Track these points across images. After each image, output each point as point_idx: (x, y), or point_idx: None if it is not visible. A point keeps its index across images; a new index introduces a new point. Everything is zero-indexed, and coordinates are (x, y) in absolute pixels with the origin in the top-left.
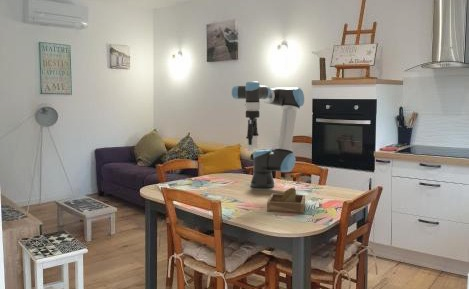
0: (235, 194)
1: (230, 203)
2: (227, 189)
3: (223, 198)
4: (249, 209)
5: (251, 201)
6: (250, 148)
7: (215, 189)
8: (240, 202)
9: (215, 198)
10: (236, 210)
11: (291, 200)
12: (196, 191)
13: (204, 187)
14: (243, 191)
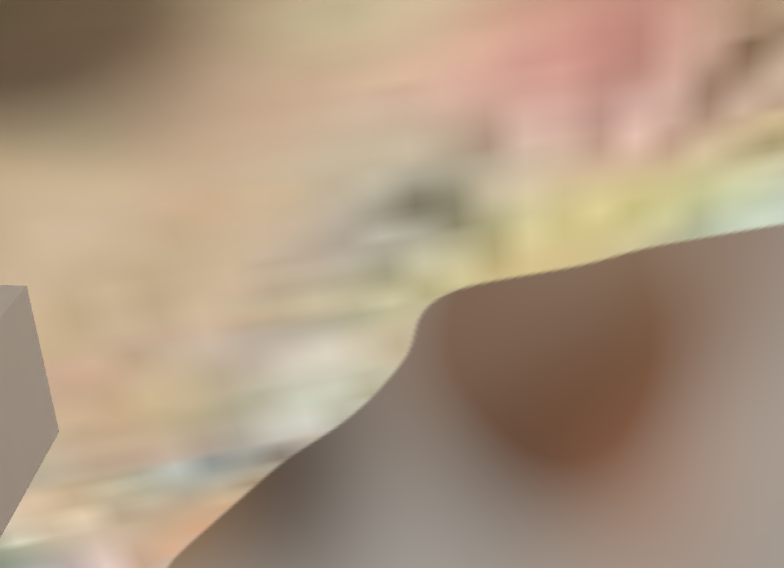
0: (185, 240)
1: (536, 229)
2: None
3: (364, 314)
4: (760, 21)
5: (446, 40)
6: None
7: None
8: (495, 146)
9: (374, 372)
10: (779, 140)
11: None
12: (172, 536)
13: None
14: (27, 183)
